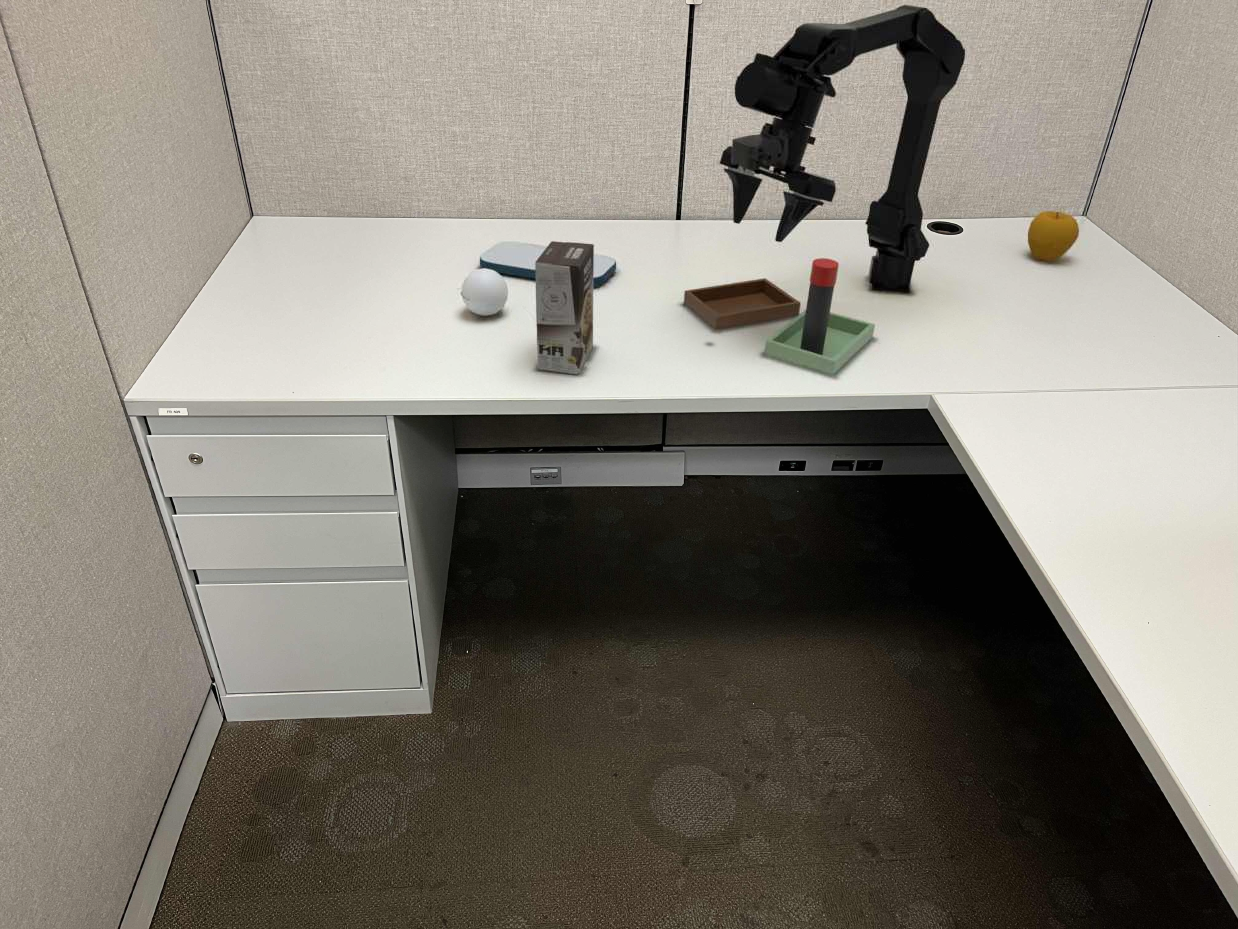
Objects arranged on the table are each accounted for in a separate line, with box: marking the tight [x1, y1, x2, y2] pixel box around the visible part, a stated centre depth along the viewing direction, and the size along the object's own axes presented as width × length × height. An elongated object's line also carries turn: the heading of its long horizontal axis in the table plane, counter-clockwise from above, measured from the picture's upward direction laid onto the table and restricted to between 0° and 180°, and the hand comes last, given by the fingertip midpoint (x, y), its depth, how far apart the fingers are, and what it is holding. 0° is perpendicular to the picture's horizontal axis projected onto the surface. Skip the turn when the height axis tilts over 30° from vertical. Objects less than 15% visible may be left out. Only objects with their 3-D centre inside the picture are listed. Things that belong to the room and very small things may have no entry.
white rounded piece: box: [458, 267, 509, 317], centre depth 139 cm, size 10×7×7 cm
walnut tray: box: [683, 277, 802, 331], centre depth 143 cm, size 15×11×2 cm
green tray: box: [763, 309, 876, 376], centre depth 132 cm, size 15×11×2 cm
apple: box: [1027, 210, 1080, 263], centre depth 164 cm, size 9×8×9 cm
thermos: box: [800, 257, 840, 355], centre depth 127 cm, size 4×4×14 cm
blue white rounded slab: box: [479, 241, 617, 287], centre depth 156 cm, size 24×12×2 cm, turn 70°
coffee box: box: [535, 240, 595, 375], centre depth 123 cm, size 9×6×16 cm
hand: (756, 232), depth 129 cm, fingers open, 9 cm apart
